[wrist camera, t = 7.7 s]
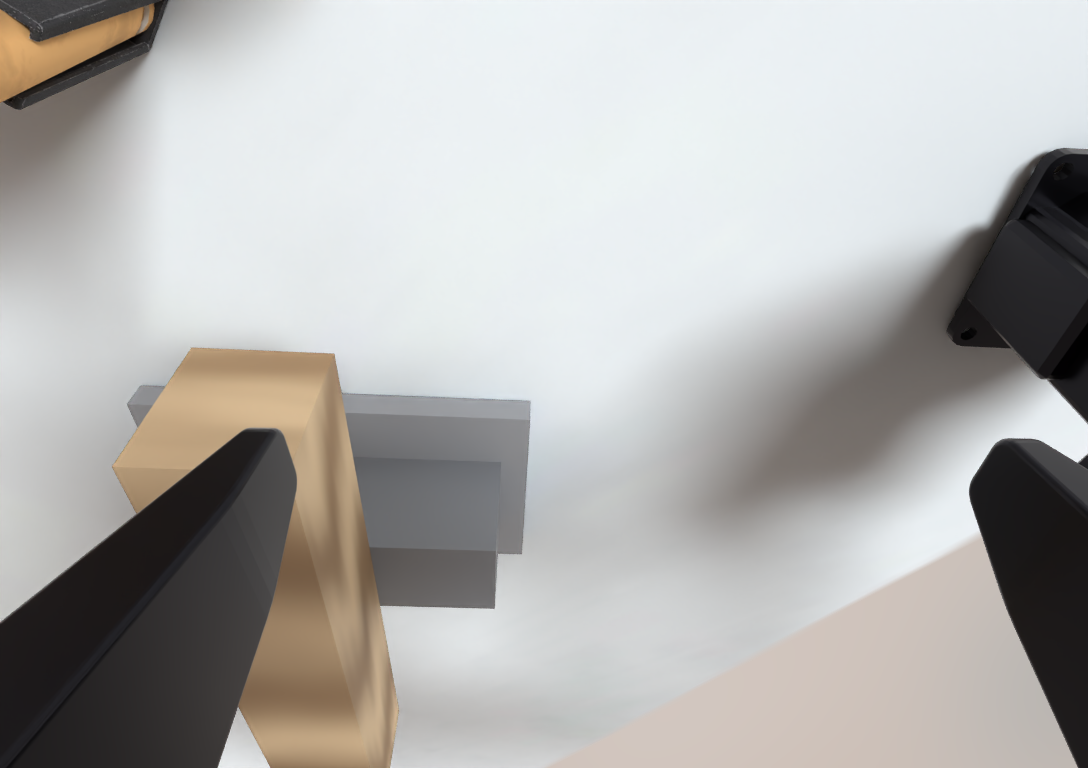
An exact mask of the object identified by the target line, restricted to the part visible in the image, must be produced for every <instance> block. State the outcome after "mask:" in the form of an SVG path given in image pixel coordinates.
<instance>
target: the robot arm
mask: <svg viewBox="0 0 1088 768" xmlns="http://www.w3.org/2000/svg"><path fill="white" fill-rule="evenodd" d="M1063 163H1064V166H1063V168H1062V169H1061V170H1060V171H1058V172H1057V173H1055V174H1053V173H1054V171H1055V169H1056V168H1057V167H1058V166H1060V165H1061V164H1063ZM967 328H969V329H968V330H967V331H965V332H963V331H964V330H966V329H967ZM962 332H963V333H962ZM947 334H948V336H949V337H950V338H951V339H952V341H953V342H954V343H955V344H956V345H960V346H973V347H996V348H1012V350H1013V351H1014V352H1015V353H1016V354H1017V355H1018V356H1019V357H1020V358H1021V359H1022V361H1023V362H1024V363H1025V364H1026V365H1027V366H1028V367H1029V368H1030V369H1031V370H1032V372H1033V373H1034V374H1035V375H1036V376H1037V377H1039V378H1040V379H1047V380H1048V382H1049V383H1050V384H1051V385H1052V386H1053V387H1054V388H1055V389H1056V390H1057V391H1058V392H1059V393H1060V395H1061V396H1062V397H1063V398H1064V399H1065V400H1066V401H1067V402H1068V403H1069V404H1070V405H1071V406H1072V408H1073V409H1074V410H1075V411H1076V412H1077V413H1078V414H1079V415H1080V416H1081V417H1082V418H1083V419H1084V421H1085V422H1086V423H1087V424H1088V149H1072V148H1061V149H1056V150H1054V151H1052V152H1050V153H1048V154H1047V155H1046V156H1044V157H1043V158H1042V159H1041V161H1040V162H1039V163H1038V165H1037V166H1036V168H1035V170H1034V172H1033V174H1032V175H1031V177H1030V179H1029V181H1028V183H1027V184H1026V186H1025V188H1024V190H1023V192H1022V194H1021V195H1020V197H1019V199H1018V201H1017V203H1016V204H1015V206H1014V208H1013V210H1012V212H1011V213H1010V215H1009V217H1008V219H1007V221H1006V223H1005V224H1004V226H1003V228H1002V230H1001V232H1000V233H999V235H998V237H997V239H996V241H995V242H994V244H993V246H992V248H991V250H990V252H989V253H988V255H987V257H986V259H985V261H984V262H983V264H982V266H981V268H980V270H979V271H978V273H977V275H976V277H975V279H974V281H973V282H972V284H971V286H970V288H969V290H968V291H967V293H966V295H965V297H964V299H963V300H962V302H961V304H960V306H959V308H958V310H957V311H956V313H955V315H954V317H953V319H952V320H951V322H950V324H949V326H948V329H947ZM296 490H297V474H296V470H295V467H294V464H293V461H292V458H291V455H290V451H289V448H288V445H287V442H286V439H285V437H284V435H283V433H282V432H281V430H279V429H277V428H246V429H244V430H242V431H241V432H239V433H238V434H237V435H236V436H234V437H233V438H232V439H231V440H229V441H228V442H227V443H225V444H224V445H223V446H222V447H220V448H219V449H218V450H217V451H215V452H214V453H213V454H212V455H210V456H209V457H208V458H207V459H205V460H204V461H203V462H202V463H200V464H199V465H198V466H196V467H195V468H194V469H193V470H191V471H190V472H189V473H188V474H186V475H185V476H184V477H183V478H181V479H180V480H179V481H178V482H176V483H175V484H174V485H173V486H171V487H170V488H169V489H167V490H166V491H165V492H164V493H162V494H161V495H160V496H159V497H157V498H156V499H155V500H154V501H152V502H151V503H150V504H149V505H147V506H146V507H145V508H144V509H142V510H141V511H140V512H138V513H137V514H136V515H135V516H133V517H132V518H131V519H130V520H128V521H127V522H126V523H125V524H123V525H122V526H121V527H120V528H118V529H117V530H116V531H115V532H113V533H112V534H111V535H109V536H108V537H107V538H106V539H104V540H103V541H102V542H101V543H99V544H98V545H97V546H96V547H94V548H93V549H92V550H91V551H89V552H88V553H87V554H86V555H84V556H83V557H82V558H80V559H79V560H78V561H77V562H75V563H74V564H73V565H72V566H70V567H69V568H68V569H67V570H65V571H64V572H63V573H62V574H60V575H59V576H58V577H57V578H55V579H54V580H53V581H51V582H50V583H49V584H48V585H46V586H45V587H44V588H43V589H41V590H40V591H39V592H38V593H36V594H35V595H34V596H33V597H31V598H30V599H29V600H28V601H26V602H25V603H24V604H22V605H21V606H20V607H19V608H17V609H16V610H15V611H14V612H12V613H11V614H10V615H9V616H7V617H6V618H5V619H4V620H2V621H1V622H0V768H218V765H219V762H220V759H221V756H222V753H223V750H224V747H225V744H226V741H227V738H228V735H229V732H230V729H231V726H232V723H233V720H234V717H235V714H236V711H237V708H238V705H239V702H240V699H241V696H242V693H243V690H244V687H245V684H246V681H247V678H248V675H249V672H250V669H251V666H252V663H253V660H254V657H255V654H256V651H257V648H258V645H259V642H260V639H261V636H262V633H263V630H264V627H265V624H266V621H267V618H268V615H269V612H270V608H271V605H272V602H273V598H274V594H275V590H276V586H277V581H278V576H279V572H280V567H281V562H282V557H283V553H284V548H285V543H286V538H287V534H288V529H289V524H290V519H291V514H292V510H293V505H294V500H295V495H296ZM969 496H970V502H971V505H972V508H973V511H974V514H975V517H976V520H977V523H978V526H979V529H980V532H981V535H982V538H983V541H984V544H985V547H986V550H987V553H988V556H989V559H990V562H991V565H992V568H993V571H994V574H995V577H996V580H997V583H998V586H999V589H1000V592H1001V595H1002V598H1003V600H1004V603H1005V606H1006V609H1007V611H1008V614H1009V616H1010V618H1011V621H1012V623H1013V625H1014V628H1015V630H1016V632H1017V634H1018V636H1019V639H1020V641H1021V643H1022V645H1023V648H1024V650H1025V652H1026V654H1027V656H1028V659H1029V661H1030V663H1031V665H1032V667H1033V670H1034V672H1035V674H1036V676H1037V678H1038V681H1039V683H1040V685H1041V687H1042V689H1043V691H1044V694H1045V696H1046V698H1047V700H1048V702H1049V705H1050V707H1051V709H1052V711H1053V714H1054V716H1055V718H1056V720H1057V723H1058V725H1059V727H1060V729H1061V731H1062V734H1063V736H1064V738H1065V740H1066V742H1067V745H1068V747H1069V749H1070V751H1071V753H1072V756H1073V758H1074V760H1075V762H1076V764H1077V767H1078V768H1088V454H1087V455H1086V456H1085V457H1084V458H1083V459H1081V460H1080V461H1079V462H1078V463H1077V462H1075V461H1073V460H1072V459H1070V458H1068V457H1067V456H1065V455H1063V454H1062V453H1060V452H1058V451H1057V450H1055V449H1053V448H1052V447H1050V446H1048V445H1047V444H1045V443H1043V442H1041V441H1039V440H1035V439H1012V438H1008V439H1002V440H1000V441H999V442H997V443H996V444H995V445H994V446H993V447H992V449H991V451H990V452H989V454H988V455H987V457H986V458H985V460H984V461H983V463H982V465H981V466H980V468H979V469H978V471H977V472H976V474H975V475H974V477H973V479H972V481H971V483H970V487H969Z"/></svg>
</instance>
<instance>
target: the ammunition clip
mask: <svg viewBox="0 0 1088 768" xmlns="http://www.w3.org/2000/svg"><path fill="white" fill-rule="evenodd" d="M167 1H168V0H0V103H1V102H4V103H5V104H7V105H9V106H11V107H12V108H14V109H18V110H21V109H23V108H25V107H27V106H29V105H32V104H34V103H36V102H38V101H40V100H43V99H45V98H47V97H49V96H51V95H54V94H56V93H58V92H60V91H62V90H65V89H67V88H69V87H71V86H73V85H76V84H78V83H80V82H82V81H84V80H87V79H89V78H91V77H93V76H95V75H98V74H100V73H102V72H104V71H106V70H109V69H111V68H113V67H115V66H117V65H120V64H122V63H124V62H126V61H128V60H131V59H133V58H135V57H137V56H139V55H142V54H144V53H146V52H148V51H149V50H150V48H151V45H152V42H153V40H154V37H155V34H156V31H157V29H158V26H159V23H160V20H161V18H162V15H163V12H164V9H165V7H166V4H167Z"/></svg>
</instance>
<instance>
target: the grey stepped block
mask: <svg viewBox="0 0 1088 768" xmlns="http://www.w3.org/2000/svg"><path fill="white" fill-rule="evenodd" d="M164 388H165V387H161V386H140V387H139V388H138V390H137V391H136V392H135V394H134V395H133V397H132V398H131V399H130V401H129V402H128V404H127V405H128V407H129V410H130V412H131V414H132V416H133V418H134V420H135V422H136V425H137V427H139V426H140V424H141V423H142V421H143V420H144V418H145V417H146V415H147V414H148V412H149V411H150V409H151V408H152V406H153V405H154V403H155V402H156V400H157V399H158V397H159V396H160V394H161V393H162V391H163V390H164ZM342 399H343V405H344V410H345V416H346V421H347V427H348V432H349V438H350V443H351V449H352V454H353V460H354V465H355V471H356V476H357V482H358V487H359V493H360V498H361V504H362V509H363V515H364V520H365V526H366V531H367V537H368V542H369V548H370V553H371V559H372V564H373V570H374V575H375V581H376V586H377V592H378V597H379V603H380V606H413V607H452V608H490V609H495V592H496V574H497V556H498V554H522V541H523V525H524V509H525V493H526V477H527V461H528V445H529V429H530V401H514V400H489V399H464V398H438V397H413V396H388V395H363V394H342Z"/></svg>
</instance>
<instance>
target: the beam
mask: <svg viewBox="0 0 1088 768" xmlns="http://www.w3.org/2000/svg"><path fill="white" fill-rule="evenodd" d="M246 428H277V429H279V430H281V432H282V433H283V435H284V437H285V439H286V442H287V445H288V448H289V451H290V455H291V458H292V461H293V464H294V467H295V470H296V474H297V490H296V495H295V500H294V505H293V510H292V514H291V519H290V524H289V529H288V534H287V538H286V543H285V548H284V553H283V557H282V562H281V567H280V572H279V576H278V581H277V586H276V590H275V594H274V598H273V602H272V605H271V608H270V612H269V615H268V618H267V621H266V624H265V627H264V630H263V633H262V636H261V639H260V642H259V645H258V648H257V651H256V654H255V657H254V660H253V663H252V666H251V669H250V672H249V675H248V678H247V681H246V684H245V687H244V690H243V693H242V696H241V699H240V702H239V705H238V707H239V709H240V711H241V713H242V715H243V716H244V718H245V720H246V722H247V724H248V726H249V728H250V730H251V732H252V733H253V735H254V737H255V739H256V741H257V743H258V745H259V747H260V749H261V751H262V752H263V754H264V756H265V758H266V760H267V762H268V764H269V766H270V768H390V764H391V758H392V752H393V745H394V739H395V733H396V726H397V720H398V714H399V708H398V702H397V697H396V691H395V686H394V680H393V675H392V669H391V664H390V658H389V652H388V647H387V641H386V636H385V630H384V625H383V619H382V614H381V608H380V603H379V597H378V592H377V586H376V581H375V575H374V570H373V564H372V559H371V553H370V548H369V542H368V537H367V531H366V526H365V520H364V515H363V509H362V504H361V498H360V493H359V487H358V482H357V476H356V471H355V465H354V460H353V454H352V449H351V443H350V438H349V432H348V427H347V421H346V416H345V410H344V405H343V399H342V394H341V388H340V382H339V377H338V371H337V366H336V360H335V355H334V354H328V353H305V352H282V351H258V350H235V349H212V348H191V349H190V351H189V352H188V354H187V355H186V357H185V358H184V360H183V361H182V363H181V364H180V366H179V367H178V369H177V370H176V372H175V373H174V375H173V376H172V378H171V379H170V381H169V382H168V384H167V385H166V387H165V388H164V390H163V391H162V393H161V394H160V396H159V397H158V399H157V400H156V402H155V403H154V405H153V406H152V408H151V409H150V411H149V412H148V414H147V415H146V417H145V418H144V420H143V421H142V423H141V424H140V426H139V427H138V429H137V430H136V432H135V433H134V435H133V436H132V438H131V439H130V441H129V442H128V444H127V445H126V447H125V448H124V450H123V451H122V453H121V454H120V456H119V457H118V459H117V460H116V462H115V463H114V465H113V466H112V468H113V470H114V472H115V474H116V476H117V477H118V479H119V481H120V483H121V485H122V487H123V489H124V491H125V493H126V495H127V496H128V498H129V500H130V502H131V504H132V506H133V508H134V510H135V512H136V513H138V512H140V511H141V510H142V509H144V508H145V507H146V506H147V505H149V504H150V503H151V502H152V501H154V500H155V499H156V498H157V497H159V496H160V495H161V494H162V493H164V492H165V491H166V490H167V489H169V488H170V487H171V486H173V485H174V484H175V483H176V482H178V481H179V480H180V479H181V478H183V477H184V476H185V475H186V474H188V473H189V472H190V471H191V470H193V469H194V468H195V467H196V466H198V465H199V464H200V463H202V462H203V461H204V460H205V459H207V458H208V457H209V456H210V455H212V454H213V453H214V452H215V451H217V450H218V449H219V448H220V447H222V446H223V445H224V444H225V443H227V442H228V441H229V440H231V439H232V438H233V437H234V436H236V435H237V434H238V433H239V432H241V431H242V430H244V429H246Z"/></svg>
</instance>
